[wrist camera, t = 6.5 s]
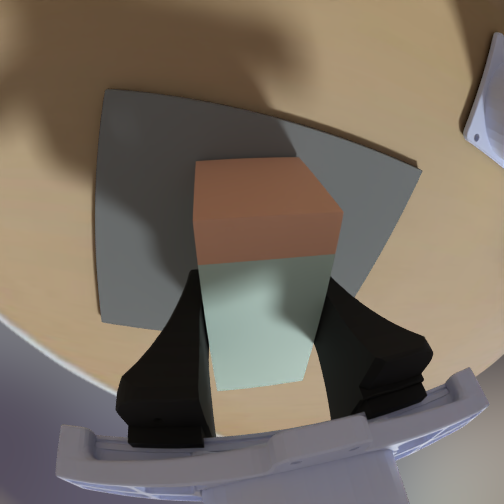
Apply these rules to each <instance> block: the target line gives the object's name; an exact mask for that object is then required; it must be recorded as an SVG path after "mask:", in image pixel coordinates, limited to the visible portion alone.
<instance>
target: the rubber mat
mask: <svg viewBox="0 0 504 504" xmlns="http://www.w3.org/2000/svg"><path fill="white" fill-rule="evenodd" d="M272 157H299V158H300V159H301V160H302V161H303V162H304V164H305V165H306V166H307V167H308V168H309V170H310V171H311V172H312V173H313V174H314V176H315V177H316V178H317V179H318V180H319V182H320V183H321V184H322V185H323V187H324V188H325V189H326V190H327V191H328V193H329V194H330V195H331V196H332V198H333V199H334V200H335V202H336V203H337V204H338V205H339V207H340V208H341V209H342V210H343V212H344V213H343V219H342V224H341V229H340V234H339V239H338V244H337V249H336V253H335V258H334V263H333V267H332V271H331V277H332V278H333V279H334V280H335V281H336V282H337V283H338V284H339V285H340V286H341V287H343V288H344V289H345V290H346V291H347V292H348V293H349V294H351V295H352V296H353V297H355V295H356V294H357V292H358V291H359V289H360V287H361V286H362V284H363V282H364V281H365V279H366V277H367V276H368V274H369V272H370V271H371V269H372V267H373V265H374V264H375V262H376V260H377V259H378V257H379V255H380V253H381V251H382V250H383V248H384V246H385V244H386V242H387V241H388V239H389V237H390V235H391V233H392V231H393V230H394V228H395V226H396V224H397V222H398V220H399V218H400V216H401V214H402V212H403V210H404V208H405V206H406V204H407V202H408V200H409V198H410V196H411V194H412V192H413V190H414V188H415V186H416V184H417V182H418V180H419V177H420V175H421V173H422V170H420V169H419V168H417V167H414V166H412V165H410V164H408V163H405V162H403V161H401V160H398V159H396V158H394V157H391V156H389V155H386V154H384V153H381V152H379V151H376V150H374V149H371V148H369V147H366V146H363V145H361V144H358V143H355V142H353V141H350V140H347V139H344V138H341V137H338V136H335V135H333V134H330V133H327V132H323V131H320V130H317V129H314V128H311V127H308V126H304V125H301V124H298V123H294V122H291V121H287V120H284V119H280V118H276V117H272V116H269V115H265V114H261V113H257V112H253V111H249V110H244V109H240V108H235V107H231V106H226V105H221V104H216V103H211V102H206V101H201V100H195V99H189V98H183V97H177V96H170V95H163V94H156V93H147V92H139V91H129V90H118V89H106V90H105V94H104V101H103V108H102V115H101V123H100V132H99V143H98V155H97V169H96V193H95V241H96V264H97V279H98V291H99V302H100V311H101V319H102V322H104V323H110V324H116V325H123V326H130V327H137V328H144V329H152V330H160V331H162V330H163V328H164V327H165V325H166V324H167V322H168V320H169V319H170V317H171V315H172V313H173V311H174V309H175V307H176V305H177V303H178V301H179V299H180V297H181V294H182V292H183V290H184V287H185V284H186V282H187V279H188V275H189V272H190V271H191V270H194V269H198V262H197V254H196V245H195V237H194V228H193V203H194V183H195V167H196V161H206V160H221V159H241V158H272Z"/></svg>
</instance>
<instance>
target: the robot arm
mask: <svg viewBox="0 0 504 504" xmlns="http://www.w3.org/2000/svg"><path fill="white" fill-rule="evenodd" d="M463 136H464V138H465V139H466V140H467V141H468V142H470V143H471V144H472V145H474V146H475V147H477V148H478V149H479V150H481V151H482V152H483V153H485V154H486V155H487V156H489V157H490V158H491V159H492V160H494V161H495V162H496V163H497V164H499V165H500V166H501V167H502V168H503V169H504V35H503V34H502V33H499V32H495V33H494V35H493V39H492V43H491V47H490V51H489V55H488V59H487V62H486V66H485V69H484V73H483V76H482V79H481V83H480V86H479V89H478V92H477V95H476V98H475V101H474V104H473V107H472V109H471V112H470V115H469V118H468V120H467V123H466V126H465V128H464V131H463ZM474 136H475V137H474ZM314 345H315V347H316V350H317V353H318V357H319V361H320V365H321V369H322V373H323V378H324V382H325V387H326V392H327V397H328V403H329V409H330V416H331V420H330V421H325V422H321V423H316V424H311V425H306V426H301V427H296V428H290V429H284V430H278V431H271V432H264V433H256V434H247V435H238V436H227V437H216V433H215V425H214V417H213V408H212V398H211V388H210V377H209V340H208V333H207V327H206V320H205V314H204V307H203V300H202V293H201V285H200V278H199V270H198V269H194V270H191V271H190V272H189V275H188V279H187V282H186V284H185V287H184V290H183V292H182V294H181V297H180V299H179V301H178V303H177V305H176V307H175V309H174V311H173V313H172V315H171V317H170V319H169V320H168V322H167V324H166V325H165V327H164V328H163V330H162V332H161V333H160V334H159V336H158V337H157V339H156V340H155V341H154V343H153V344H152V345H151V347H150V348H149V349H148V350H147V351H146V353H145V354H144V355H143V356H142V357H141V358H140V359H139V361H138V362H137V363H136V364H135V365H134V366H133V367H131V368H130V369H129V370H128V371H127V372H126V373H125V374H124V375H123V376H122V378H121V381H120V384H119V388H118V391H117V399H116V411H117V413H118V414H119V416H121V418H122V419H123V420H124V421H125V422H126V423H127V425H128V438H123V437H110V436H99V435H95V434H94V433H93V432H92V431H91V430H90V429H87V428H84V427H77V426H69V425H61V430H60V437H59V445H58V454H57V463H56V476H57V477H59V478H61V479H63V480H66V481H68V482H70V483H72V484H74V485H76V486H79V487H81V488H84V489H88V490H93V491H100V492H106V493H112V494H118V495H125V496H132V497H141V498H150V499H161V500H176V501H202V503H203V504H410V503H409V500H408V497H407V494H406V491H405V488H404V485H403V482H402V479H401V476H400V473H399V470H398V467H397V464H396V460H399V459H401V458H403V457H405V456H408V455H410V454H412V453H414V452H416V451H418V450H420V449H422V448H424V447H426V446H428V445H430V444H432V443H434V442H436V441H438V440H440V439H442V438H444V437H445V436H447V435H449V434H451V433H453V432H455V431H457V430H459V429H460V428H462V427H464V426H465V425H466V424H468V423H469V422H470V421H471V420H473V419H474V418H475V417H476V416H477V415H479V414H480V413H481V412H482V411H483V410H485V409H486V408H487V407H488V406H489V402H488V400H487V398H486V396H485V394H484V392H483V390H482V389H481V387H480V385H479V383H478V381H477V380H476V377H475V375H474V374H473V372H472V370H471V368H469V367H468V368H466V369H464V370H462V371H459V372H457V373H455V374H453V375H452V376H451V377H450V378H449V379H448V380H447V381H446V383H445V384H443V385H440V386H438V387H435V388H433V389H430V390H428V391H425V389H424V387H423V385H422V383H421V382H423V381H424V378H423V376H422V374H421V373H422V372H423V371H424V369H425V368H426V367H427V365H428V364H429V363H430V361H431V359H432V356H433V351H432V349H431V347H430V346H429V344H428V342H427V341H426V339H425V337H424V336H421V335H419V334H416V333H414V332H411V331H409V330H406V329H404V328H402V327H400V326H398V325H396V324H394V323H392V322H390V321H388V320H387V319H385V318H383V317H381V316H380V315H378V314H376V313H375V312H373V311H372V310H370V309H369V308H368V307H366V306H365V305H363V304H362V303H361V302H359V301H358V300H357V299H355V298H354V297H353V296H352V295H351V294H349V293H348V292H347V291H346V290H345V289H344V288H343V287H341V286H340V285H339V284H338V283H337V282H336V281H335V280H334V279H333V278H332V277H331V276H330V280H329V284H328V289H327V293H326V297H325V301H324V305H323V309H322V313H321V317H320V321H319V324H318V328H317V332H316V336H315V339H314Z"/></svg>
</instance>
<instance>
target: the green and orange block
mask: <svg viewBox="0 0 504 504" xmlns="http://www.w3.org/2000/svg"><path fill="white" fill-rule="evenodd" d="M343 213H344V212H343V210H342V209H341V208H340V207H339V205H338V204H337V203H336V202H335V200H334V199H333V198H332V196H331V195H330V194H329V193H328V191H327V190H326V189H325V188H324V187H323V185H322V184H321V183H320V182H319V180H318V179H317V178H316V177H315V176H314V174H313V173H312V172H311V171H310V170H309V168H308V167H307V166H306V165H305V164H304V162H303V161H302V160H301V159H300V158H299V157H272V158H241V159H221V160H206V161H196V167H195V183H194V203H193V228H194V237H195V245H196V254H197V262H198V270H199V278H200V285H201V293H202V300H203V307H204V314H205V320H206V327H207V333H208V340H209V346H210V352H211V358H212V364H213V370H214V375H215V381H216V386H217V391H224V390H235V389H244V388H253V387H261V386H269V385H276V384H283V383H289V382H296V381H301V380H303V377H304V374H305V371H306V367H307V364H308V360H309V357H310V354H311V350H312V346H313V343H314V339H315V336H316V332H317V328H318V324H319V321H320V317H321V313H322V309H323V305H324V301H325V297H326V293H327V289H328V284H329V280H330V276H331V271H332V267H333V263H334V258H335V253H336V249H337V244H338V239H339V234H340V229H341V224H342V219H343Z"/></svg>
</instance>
